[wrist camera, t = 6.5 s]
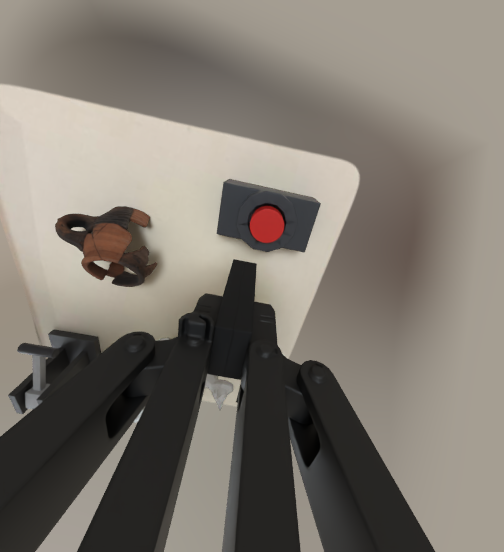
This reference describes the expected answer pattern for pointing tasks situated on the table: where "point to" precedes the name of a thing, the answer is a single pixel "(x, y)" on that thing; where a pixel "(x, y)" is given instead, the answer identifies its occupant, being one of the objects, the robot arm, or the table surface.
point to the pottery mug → (108, 244)
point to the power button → (266, 224)
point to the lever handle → (37, 370)
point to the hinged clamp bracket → (59, 365)
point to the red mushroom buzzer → (249, 197)
